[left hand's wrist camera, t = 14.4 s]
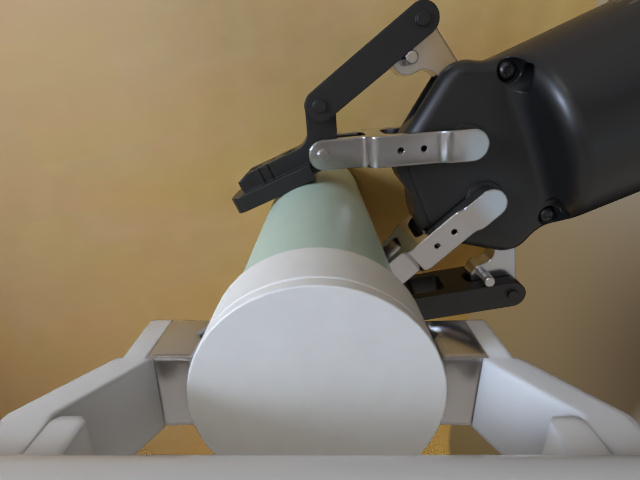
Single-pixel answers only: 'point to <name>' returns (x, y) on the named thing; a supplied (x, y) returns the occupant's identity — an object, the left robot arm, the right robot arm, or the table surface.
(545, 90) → the right robot arm
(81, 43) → the table surface
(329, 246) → the jar
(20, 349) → the table surface
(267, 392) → the lid
